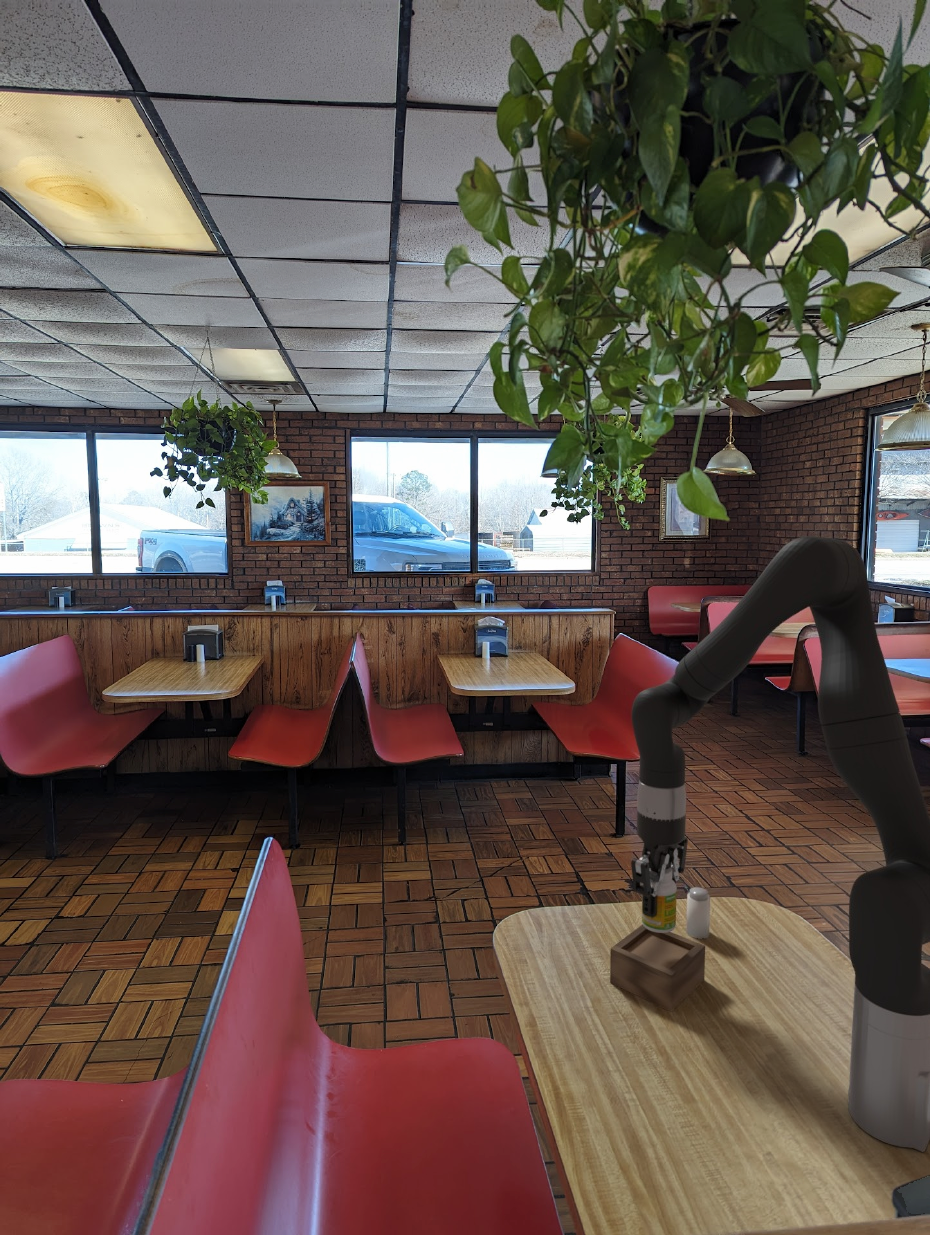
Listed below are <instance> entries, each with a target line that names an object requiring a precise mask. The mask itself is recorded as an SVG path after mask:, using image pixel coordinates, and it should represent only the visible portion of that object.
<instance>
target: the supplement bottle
mask: <svg viewBox="0 0 930 1235" xmlns="http://www.w3.org/2000/svg"><path fill="white" fill-rule="evenodd" d="M650 873H651V874H653V875H657V874H658V873H657V872H654V871H651V870H650ZM650 881H651V887H652V885H653V880H651V879H650ZM677 890H678V889H677V883H676V884H675V882H674V881H673V880H672V868H671V867H670V868H668V869H665V873H664V877H663V881H662V882H660V883H659V886H658V891H657V915H656V916H655V917H654V918H652V917H649V916H647V915H644V914H643V912H642V911H641V923H642V924H643V926H644V927H645V928H646V929H648V930H650V931H653V932H657V933H667V932H673V931H674V929H675V928H676V926H677V925H676V924H677V892H678V891H677ZM642 898H643V895H642V894H641V899H642ZM642 924H641V925H642Z"/></svg>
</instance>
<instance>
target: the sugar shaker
mask: <svg viewBox="0 0 930 1235" xmlns="http://www.w3.org/2000/svg"><path fill="white" fill-rule="evenodd" d="M686 899H687V900H686V934H687V935H688V934H689V935H688V936H689V937H691V938H693V939H697V938H698V939H699V940H702V938H704V939H707V938H708V937H709V936H710V924H711V923H710V922H711V921H710V919H711V918H710V917H711V896H710V895H709V891H708V889H705V888H703V887H700V886H699V887H698V886H696V887H695V886H694V887H692V888H690V889H689V892H687V896H686ZM698 939H697V940H698Z"/></svg>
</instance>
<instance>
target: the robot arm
mask: <svg viewBox="0 0 930 1235" xmlns="http://www.w3.org/2000/svg"><path fill="white" fill-rule="evenodd" d="M868 578H869V577H868V573H867V569H866V565H865V562H864V559H863V557H862V555H861V554H860V553H859V551H858V550H857V549H856V548H855V547H854V546H853V545H851V544H850V543H848V542H846V541H845V540H842V539H837V538H832V537H824V536H814V535H813V536H812V535H808V536H800V537H798V538H794V539H793V540H790V541H789V542H787V543H786V544H784V546H783V547H782V548H780V549H779V551H778V552H777V553H776V554H775V556H774V557H773V558H772V559H771V561H770V562H769V563H768V565H767V566H766V567H765V569H764V570H763V571H762V573H761V574H760V575H759V576H758V578H756V580H755V582H754V583H753V585H752V586H751V587H750V588H749V589H748V590H747V592H746V593H745V594H744V596H743V597H742V598H741V599H740V600H739V602H738V603H737V604H736V605H735V606H734V607H733V609H732V610H731V611H730V612H729V613H728V614H727V616H725V618H724V619H722V621H721V622H720V623H719V624H718V625H717V626H716V627H715V628H714V629H713V630H712V631H710V632H709V634H708V635H706V636H705V637H704V638H703V639H702V640H701V641H700V642H699V643H698V644H697V645H696V646H694V648H692V650H690V651H689V652H688V653H687V654H686V655H685V656H684V657H682V659H681V660H680V661H679V662H678V663H677V665H676V666H675V670H674V675H673V676H671V677H670V678H669V679H668V680H667V681H665V682H664V683H662V684H659V685H655V686H652V687H649V688H646V689H644V690H642V691H640V692H639V693H637V695H636V696H635V698H634V700H633V704H632V707H631V716H630V717H631V724H632V725H631V726H632V730H633V734H634V738H635V742H636V746H637V749H638V752H639V753H638V754H639V775H638V778H639V780H638V789H637V792H636V793H637V795H636V796H637V797H636V798H637V799H636V800H637V801H636V803H637V804H636V834H637V836H638V837H639V838H640V839H641V841H642V843H643V848H642V852H641V856H640V858H634V857H633V858H632V860H631V861H630V866H631V875H632V882H633V883H632V884H633V891H634V893H636V894H639V895H641V896H642V895H643V898H642V897H641V913H642V912H643V914H644V915H647V916H649V917H652V918H654V917H655V916H656V915H657V891H658V886H659V883H660V882H662V881H663V877H664V873H665V869H668V868H670V867H671V868H672V880H673V881H674V882H675V884H676V885H677V881H679V878H680V874H684V872H685V866H686V859H687V858H686V857H687V850H688V841H689V839H688V837H686V824H687V823H686V816H687V814H686V812H687V793H686V755H685V754H686V753H685V751H684V749H683V748H682V747H681V745H679V744H677V743H674V740H673V729H676V728H679V727H682V726H683V725H685V724H686V723H688V722H689V721H690V720H692V719H694V717H695V716H696V715H698V714H699V713H700V712H701V710H702V709H703V708H704V707H705V705H706V704H707V703H708V702H709V701H710V699H711V698H712V697H713V696H714V695H716V694H717V693H718V692H720V691H721V690H722V689H723V688H725V687H726V686H727V685H728V684H729V683H730V682H732V680H735V678H737V676H739V674H740V673H742V672H743V671H744V669H745V668H746V667H747V666H748V665H749V664H750V663H751V661H752V660H753V658H755V655H756V654H757V652H758V650H759V648H760V647H761V646H762V644H763V643H764V641H765V640H766V639H767V638H768V636H770V635H771V634H772V632H773V631H775V630H776V629H777V628H778V627H779V626H780V625H781V624H783V623H784V622H786V621H788V620H790V618H792V617H793V616H796V615H797V614H798V613H800V612H802V611H804V610H805V609H807V608H809V609H810V612H811V614H812V618H813V622H814V624H815V628H816V632H817V634H818V638H819V643H820V649H821V650H820V652H821V655H820V656H821V661H820V673H819V683H818V693H817V694H818V695H817V710H818V711H817V712H818V717H819V721H820V725H821V726H820V727H821V730H822V734H823V738H824V742H825V746H826V749H827V753H828V756H829V759H830V762H831V764H832V766H833V768H834V769H835V771H836V773H837V774H838V776H839V777H840V778H841V779H842V781H843V782H844V783H845V785H846V786H847V787H848V788H849V789H850V790H851V792H852V794H854V796H856V798H857V799H858V800H859V802H860V803H861V804H862V805H863V806H864V808H865V809H866V810H867V812H868V814H869V815H870V816H871V820H873V822H874V824H875V826H876V827H875V828H876V829H877V833H878V837H879V838H880V839H879V840H880V842H881V847H882V850H883V851H882V852H883V855H884V860H885V866H881V867H878V868H875V869H872V870H868V871H865V872H864V873H862V874H860V875H859V876H858V877H857V878H856V879H855V881H854V882H853V884H852V887H851V889H850V894H849V900H848V901H849V902H848V952H849V959H850V962H851V965H852V968H853V970H854V988H853V989H854V990H853V991H854V993H853V1008H852V1009H853V1010H852V1027H851V1043H850V1044H851V1045H850V1046H851V1047H850V1062H849V1064H850V1066H849V1081H848V1082H849V1083H848V1084H849V1085H848V1095H847V1096H848V1102H847V1105H848V1106H847V1107H848V1111H849V1114H850V1117H851V1118H852V1120H853V1121H854V1122H855V1123H856V1124H857V1125H858V1127H860V1128H861V1129H862V1130H863V1131H864V1132H865V1133H867V1134H868V1135H870V1136H871V1137H873V1138H874V1139H876V1140H879V1141H881V1142H883V1143H886V1144H889V1145H891V1146H894V1147H899V1148H910V1149H915V1150H917V1151H919V1152H922V1153H924V1152H925V1151H926V1150H927V1147H928V1144H929V1143H930V967H928V966H927V965H925V964H924V963H922V962H923V961H922V955H923V945H926V944H928V943H930V815H929V811H928V808H927V804H926V802H925V799H924V794H923V791H922V788H921V785H920V782H919V781H920V780H919V778H918V775H917V774H918V773H917V772H916V768H915V765H914V761H913V756H912V755H911V754H912V752H911V749H910V744H909V740H908V737H907V732H906V729H905V725H904V722H903V719H902V715H901V714H902V713H900V712H901V711H900V708H899V704H898V701H897V699H896V695H895V693H894V688H893V686H892V682H891V678H890V675H889V671H888V667H887V665H886V660H885V657H884V654H883V650H882V647H881V644H880V641H879V636H878V633H877V629H876V623H875V618H874V612H873V606H872V605H873V604H872V599H871V591H870V586H869V584H870V583H869V580H868ZM650 870H651V871H654V872H657V873H658V874H657V875H653V874H651V873H650ZM650 879H651V880H653V885H652V887H651V881H650Z"/></svg>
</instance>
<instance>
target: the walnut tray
mask: <svg viewBox="0 0 930 1235" xmlns="http://www.w3.org/2000/svg"><path fill="white" fill-rule="evenodd" d="M609 956H610V960H609V961H610V964H609V965H610V967H609V970H610V973H609V974H610V976H609V978H610V980H609V983H610V984H612V985H614V986H616V987H618V988H620V989H623V990H625V991H627V992H629V993H631V994H633V995H636V996H638V997H639V998H641V999H643V1000H645V1001H648V1002H650V1003H652V1004H654V1005H656V1006H658V1007H661V1008H662V1009H665V1010H666V1011H668V1012H671V1013H672V1011H674V1010H675V1009H676V1008H678V1006H679V1005H680V1004H681V1003H682V1002H684V1000H685V999H686V998H687V997H688V996H690V994H691V993H693V991H695V990H696V989H697V988H698V986H700V985H701V984H702V983H703V982H704V981H705V972H706V968H705V966H706V945H704V944H701V943H700V942H697V941H695V940H692V939H689V938H687V937H684V936H682V935H679V934H677V933H674V932H673V931H671V932H667V933H657V932H653V931H650V930H648V929H646V928H645V927H644V926H643V924H641V925H640V926H638V927H637V928H636V929H634V930H633V931H631V932H630V933H629V934H628V935H626V936H625V937H624V938H623V939H621V940H619V941H618V942H616V944H615V945H613V946H612V947H610V954H609Z"/></svg>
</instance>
